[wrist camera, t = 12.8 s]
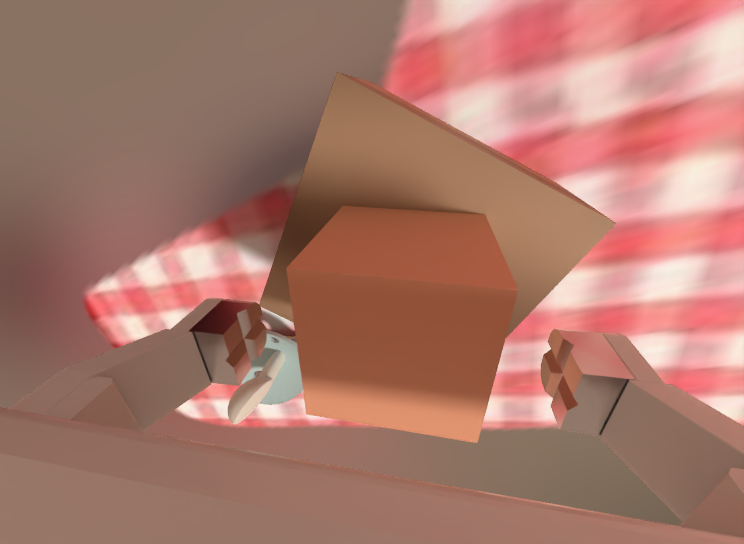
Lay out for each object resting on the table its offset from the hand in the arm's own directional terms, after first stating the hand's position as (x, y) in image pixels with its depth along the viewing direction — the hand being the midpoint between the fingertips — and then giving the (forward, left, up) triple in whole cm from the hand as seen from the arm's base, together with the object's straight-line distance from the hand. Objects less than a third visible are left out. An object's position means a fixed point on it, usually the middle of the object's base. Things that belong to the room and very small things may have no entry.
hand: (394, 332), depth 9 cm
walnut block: (0, 0, -10) cm, 10 cm away
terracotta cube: (0, 0, -4) cm, 4 cm away
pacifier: (+11, -9, -10) cm, 17 cm away
